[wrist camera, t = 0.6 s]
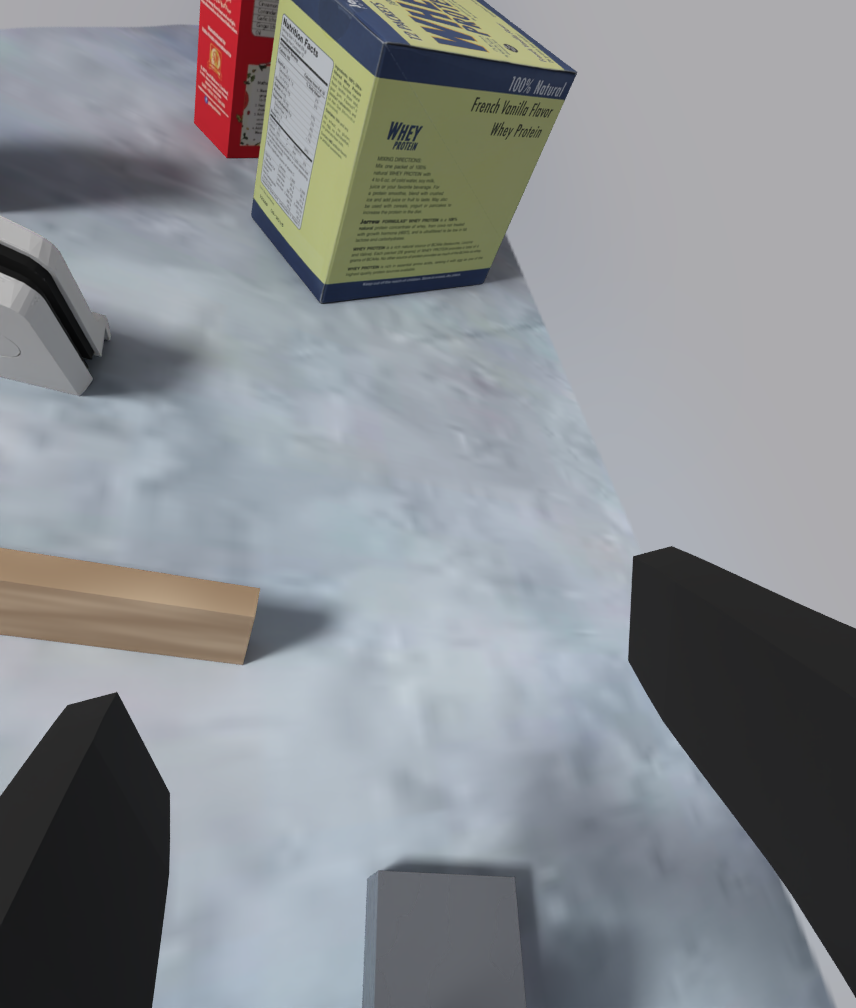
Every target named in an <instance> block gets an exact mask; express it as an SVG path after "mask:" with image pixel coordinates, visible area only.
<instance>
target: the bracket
mask: <svg viewBox="0 0 856 1008" xmlns="http://www.w3.org/2000/svg"><path fill="white" fill-rule="evenodd" d="M362 1008H526V999H525V987H524V976H523V965H522V954H521V942H520V931H519V920H518V908H517V897H516V886H515V877H501V876H480V875H459V874H438V873H417V872H397V871H377V872H376V873H374V874H373V875H372V876H370V877H369V878H368V879H367V900H366V925H365V950H364V975H363V1001H362Z"/></svg>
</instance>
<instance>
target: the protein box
mask: <svg viewBox="0 0 856 1008" xmlns="http://www.w3.org/2000/svg"><path fill="white" fill-rule="evenodd" d="M576 75H577V72H576V71H575V70H573V69H572V68H571V67H570V66H568V65H567V64H565V63H564V62H563V61H562V60H560V59H559V58H558V57H556V56H555V55H554V54H552V53H551V52H550V51H548V50H547V49H546V48H544V47H543V46H542V45H540V44H539V43H538V42H537V41H535V40H534V39H533V38H531V37H530V36H529V35H527V34H526V33H525V32H524V31H522V30H521V29H520V28H518V27H517V26H516V25H514V24H513V23H512V22H510V21H509V20H508V19H506V18H505V17H504V16H503V15H501V14H500V13H499V12H497V11H496V10H495V9H494V8H492V7H491V6H490V5H489V4H487V3H486V2H485V1H484V0H279V5H278V13H277V20H276V28H275V35H274V43H273V51H272V58H271V66H270V73H269V81H268V89H267V96H266V104H265V113H264V121H263V130H262V137H261V145H260V152H259V160H258V167H257V175H256V182H255V190H254V198H253V206H252V213H251V216H252V218H253V219H254V221H255V222H256V223H257V224H258V225H259V227H260V228H261V229H262V230H263V232H264V233H265V234H266V236H267V237H268V238H269V239H270V240H271V242H272V243H273V244H274V246H275V247H276V248H277V249H278V251H279V252H280V253H281V254H282V256H283V257H284V258H285V259H286V261H287V262H288V263H289V265H290V266H291V267H292V268H293V269H294V271H295V272H296V273H297V274H298V276H299V277H300V278H301V279H302V280H303V282H304V283H305V284H306V285H307V287H308V288H309V289H310V291H311V292H312V293H313V294H314V296H315V297H316V298H317V300H318V301H319V302H320V303H326V302H335V301H343V300H352V299H360V298H368V297H376V296H385V295H393V294H401V293H410V292H418V291H427V290H435V289H444V288H452V287H460V286H468V285H477V284H482V283H483V282H484V280H485V278H486V276H487V273H488V271H489V269H490V267H491V265H492V262H493V260H494V258H495V256H496V253H497V251H498V249H499V247H500V245H501V242H502V240H503V238H504V235H505V233H506V231H507V229H508V226H509V224H510V222H511V220H512V217H513V215H514V213H515V211H516V209H517V206H518V204H519V202H520V199H521V197H522V195H523V193H524V191H525V188H526V186H527V184H528V182H529V179H530V177H531V175H532V172H533V170H534V168H535V166H536V164H537V161H538V159H539V157H540V155H541V152H542V150H543V147H544V146H545V143H546V141H547V139H548V137H549V134H550V132H551V130H552V127H553V125H554V123H555V121H556V119H557V116H558V114H559V112H560V110H561V107H562V105H563V103H564V101H565V98H566V96H567V94H568V92H569V89H570V87H571V85H572V83H573V81H574V78H575V76H576Z"/></svg>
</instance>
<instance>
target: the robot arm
mask: <svg viewBox="0 0 856 1008" xmlns="http://www.w3.org/2000/svg"><path fill="white" fill-rule="evenodd" d="M628 661H629V663H630V665H631V666H632V668H633V670H634V672H635V674H636V675H637V677H638V679H639V681H640V683H641V684H642V686H643V688H644V690H645V692H646V693H647V695H648V697H649V698H650V700H651V702H652V703H653V705H654V707H655V709H656V710H657V712H658V714H659V715H660V717H661V719H662V720H663V722H664V723H665V725H666V726H667V727H668V729H669V730H670V731H671V733H672V734H673V736H674V737H675V738H676V740H677V741H678V742H679V744H680V745H681V746H682V748H683V749H684V750H685V752H686V753H687V754H688V756H689V757H690V758H691V760H692V761H693V762H694V764H695V765H696V766H697V768H698V769H699V770H700V772H701V773H702V774H703V776H704V777H705V778H706V780H707V781H708V782H709V784H710V785H711V786H712V788H713V789H714V790H715V792H716V793H717V794H718V796H719V797H720V798H721V799H722V801H723V802H724V803H725V805H726V806H727V807H728V809H729V810H730V811H731V813H732V814H733V815H734V817H735V818H736V819H737V821H738V822H739V823H740V825H741V826H742V827H743V829H744V830H745V831H746V833H747V834H748V835H749V836H750V838H751V839H752V840H753V842H754V843H755V844H756V846H757V847H758V848H759V850H760V851H761V852H762V854H763V855H764V856H765V858H766V859H767V860H768V862H769V863H770V865H771V866H772V867H773V869H774V870H775V872H776V873H777V874H778V876H779V877H780V879H781V880H782V882H783V883H784V884H785V886H786V887H787V889H788V890H789V892H790V893H791V894H792V896H793V898H794V899H795V901H796V902H797V904H798V905H799V907H800V909H801V910H802V912H803V913H804V915H805V917H806V918H807V920H808V921H809V923H810V925H811V926H812V928H813V929H814V931H815V933H816V934H817V935H818V937H819V939H820V940H821V942H822V944H823V945H824V947H825V948H826V950H827V952H828V953H829V955H830V956H831V958H832V960H833V961H834V963H835V964H836V966H837V968H838V969H839V971H840V972H841V974H842V976H843V977H844V979H845V981H846V982H847V984H848V986H849V987H850V989H851V990H852V992H853V994H854V995H855V997H856V629H855V628H853V627H851V626H848V625H846V624H843V623H841V622H839V621H837V620H834V619H832V618H830V617H828V616H825V615H823V614H821V613H819V612H816V611H814V610H812V609H810V608H807V607H805V606H803V605H801V604H799V603H796V602H794V601H792V600H790V599H788V598H785V597H783V596H781V595H778V594H777V593H774V592H772V591H770V590H768V589H766V588H763V587H761V586H759V585H757V584H755V583H753V582H751V581H749V580H746V579H744V578H742V577H740V576H738V575H736V574H733V573H731V572H729V571H727V570H725V569H722V568H720V567H718V566H716V565H714V564H712V563H710V562H707V561H705V560H703V559H701V558H698V557H696V556H693V555H691V554H689V553H687V552H684V551H682V550H679V549H677V548H675V547H672V546H671V547H667V548H663V549H659V550H656V551H652V552H648V553H644V554H640V555H637V556H633V571H632V592H631V613H630V634H629V655H628ZM169 857H170V793H169V791H168V789H167V787H166V785H165V783H164V781H163V779H162V777H161V775H160V773H159V771H158V770H157V768H156V766H155V764H154V762H153V760H152V758H151V756H150V754H149V752H148V750H147V748H146V746H145V745H144V743H143V741H142V739H141V737H140V735H139V733H138V731H137V729H136V727H135V725H134V723H133V722H132V720H131V718H130V716H129V714H128V712H127V710H126V708H125V706H124V704H123V702H122V700H121V698H120V697H119V695H118V693H117V692H116V693H112V694H108V695H104V696H101V697H97V698H93V699H89V700H85V701H82V702H78V703H74V704H70V705H67V707H66V708H65V709H64V710H63V712H62V713H61V714H60V716H59V717H58V718H57V719H56V721H55V722H54V723H53V725H52V726H51V727H50V729H49V730H48V732H47V733H46V734H45V736H44V737H43V738H42V740H41V741H40V742H39V744H38V745H37V747H36V748H35V749H34V751H33V752H32V753H31V755H30V756H29V758H28V759H27V760H26V762H25V763H24V764H23V766H22V767H21V769H20V770H19V771H18V773H17V774H16V776H15V777H14V778H13V780H12V781H11V782H10V784H9V785H8V787H7V788H6V789H5V791H4V792H3V793H2V795H1V796H0V1008H152V1003H153V996H154V988H155V980H156V973H157V965H158V958H159V950H160V943H161V935H162V927H163V919H164V911H165V903H166V895H167V887H168V878H169Z"/></svg>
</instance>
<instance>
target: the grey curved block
mask: <svg viewBox="0 0 856 1008" xmlns="http://www.w3.org/2000/svg"><path fill="white" fill-rule="evenodd" d="M110 338H111V332H110V328H109V325H108V321H107V318H106V316H105V315H101V314H97V313H94V312H91V310H90V308H89V306H88V305H87V303H86V301H85V299H84V297H83V295H82V293H81V291H80V289H79V287H78V285H77V283H76V282H75V280H74V278H73V276H72V274H71V272H70V270H69V268H68V266H67V264H66V262H65V260H64V258H63V257H62V255H61V253H60V251H59V250H58V249H57V248H56V247H55V246H54V245H53V244H52V243H51V242H50V241H48V240H47V239H45V238H44V237H42V236H41V235H39V234H37V233H35V232H33V231H31V230H29V229H27V228H25V227H23V226H21V225H19V224H17V223H15V222H13V221H11V220H8V219H6V218H4V217H2V216H0V377H3V378H7V379H11V380H15V381H19V382H23V383H27V384H31V385H35V386H40V387H44V388H48V389H52V390H56V391H60V392H64V393H68V394H72V395H77V396H80V395H81V394H82V393H83V392H84V391H85V390H86V389H87V387H88V386H89V384H90V383H91V382H92V380H93V378H92V376H91V375H90V373H89V371H88V366H87V364H86V362H85V361H84V359H83V357H84V358H88V359H92V357H93V355H96V356H100V357H102V349H103V342H104V339H105V340H109V341H110Z"/></svg>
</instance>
